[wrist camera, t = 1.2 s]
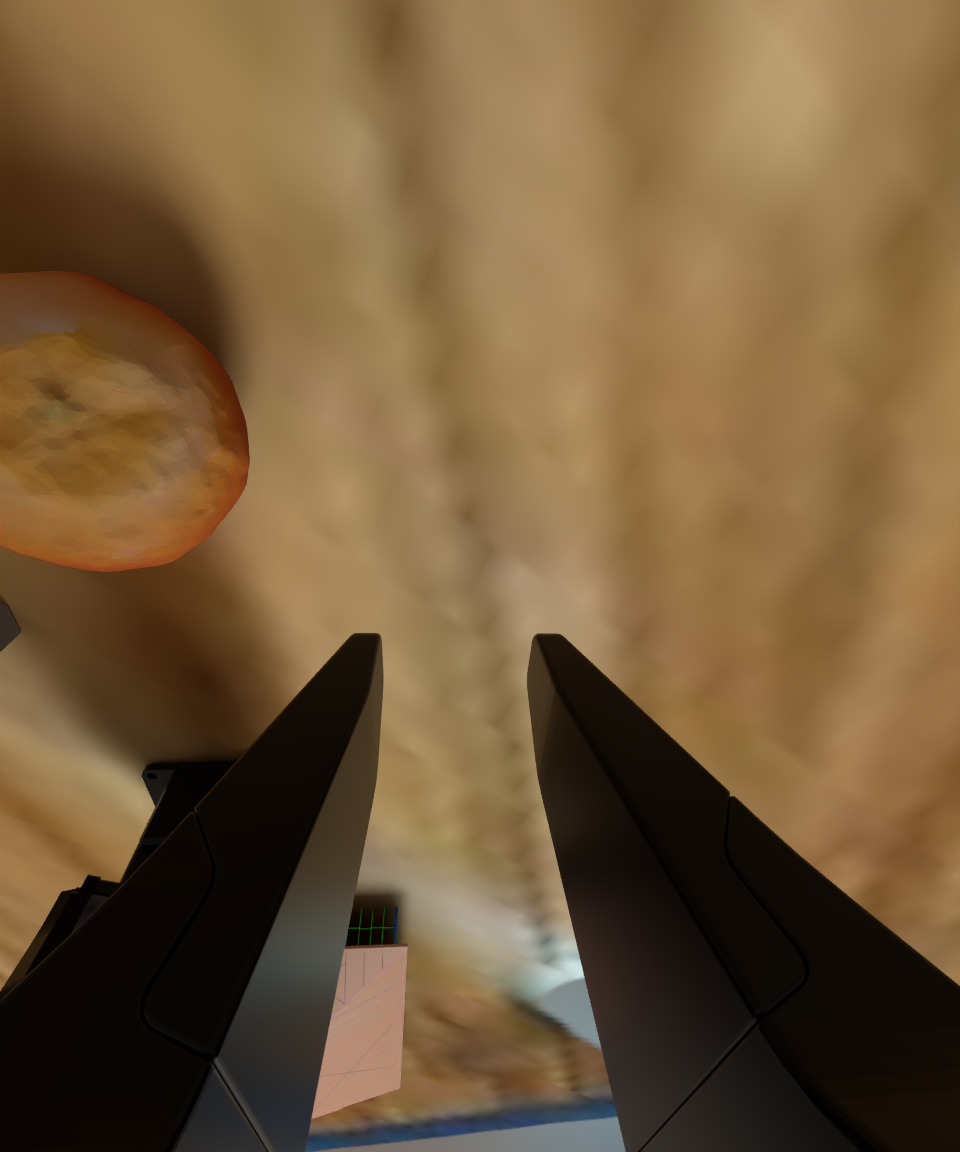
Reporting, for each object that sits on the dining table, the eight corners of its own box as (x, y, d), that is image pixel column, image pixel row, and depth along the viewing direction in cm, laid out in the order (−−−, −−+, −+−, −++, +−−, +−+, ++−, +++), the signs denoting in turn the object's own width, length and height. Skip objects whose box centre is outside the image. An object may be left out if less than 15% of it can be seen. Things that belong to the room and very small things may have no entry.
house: (172, 1069, 53) (133, 1192, 46) (67, 904, 35) (-21, 1065, 28) (401, 1054, 56) (396, 1168, 49) (409, 895, 38) (404, 1038, 31)
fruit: (-50, 488, 18) (-281, 466, 10) (76, 293, 18) (-54, 142, 11) (190, 596, 21) (147, 639, 13) (291, 425, 21) (303, 377, 14)
